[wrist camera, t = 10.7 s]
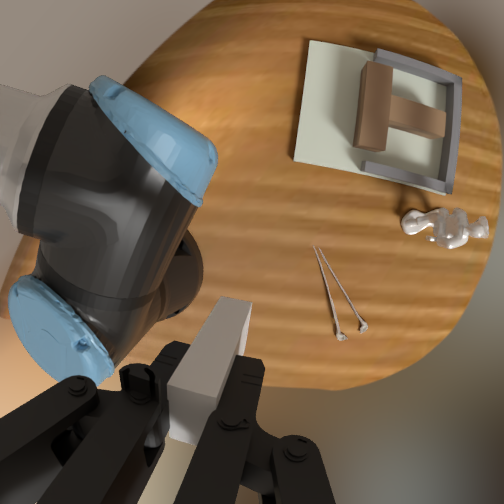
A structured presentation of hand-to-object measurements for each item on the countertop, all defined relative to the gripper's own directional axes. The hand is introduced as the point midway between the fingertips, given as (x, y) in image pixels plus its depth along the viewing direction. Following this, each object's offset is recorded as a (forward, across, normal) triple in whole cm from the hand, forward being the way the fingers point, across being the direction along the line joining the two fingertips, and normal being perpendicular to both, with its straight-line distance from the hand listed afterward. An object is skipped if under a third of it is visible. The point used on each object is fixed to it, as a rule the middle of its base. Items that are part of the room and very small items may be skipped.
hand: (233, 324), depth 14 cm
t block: (+23, +13, +16) cm, 31 cm away
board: (+24, +11, +16) cm, 31 cm away
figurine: (+25, +20, +5) cm, 32 cm away
